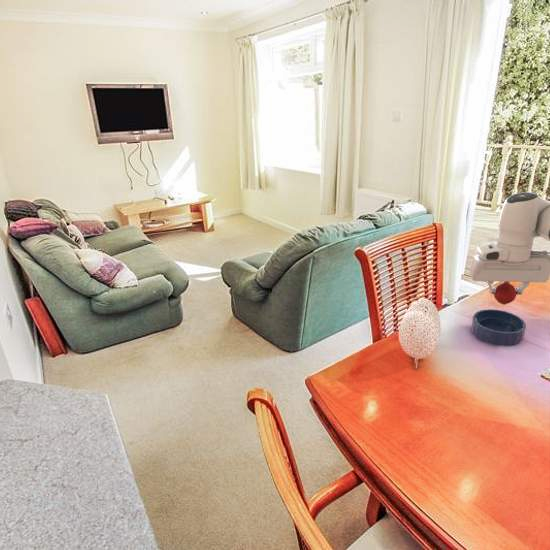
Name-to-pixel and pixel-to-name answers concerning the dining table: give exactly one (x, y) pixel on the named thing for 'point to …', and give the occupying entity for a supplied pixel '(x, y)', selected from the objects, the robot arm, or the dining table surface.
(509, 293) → the onion
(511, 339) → the bowl
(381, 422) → the dining table surface
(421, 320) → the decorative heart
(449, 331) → the dining table surface
